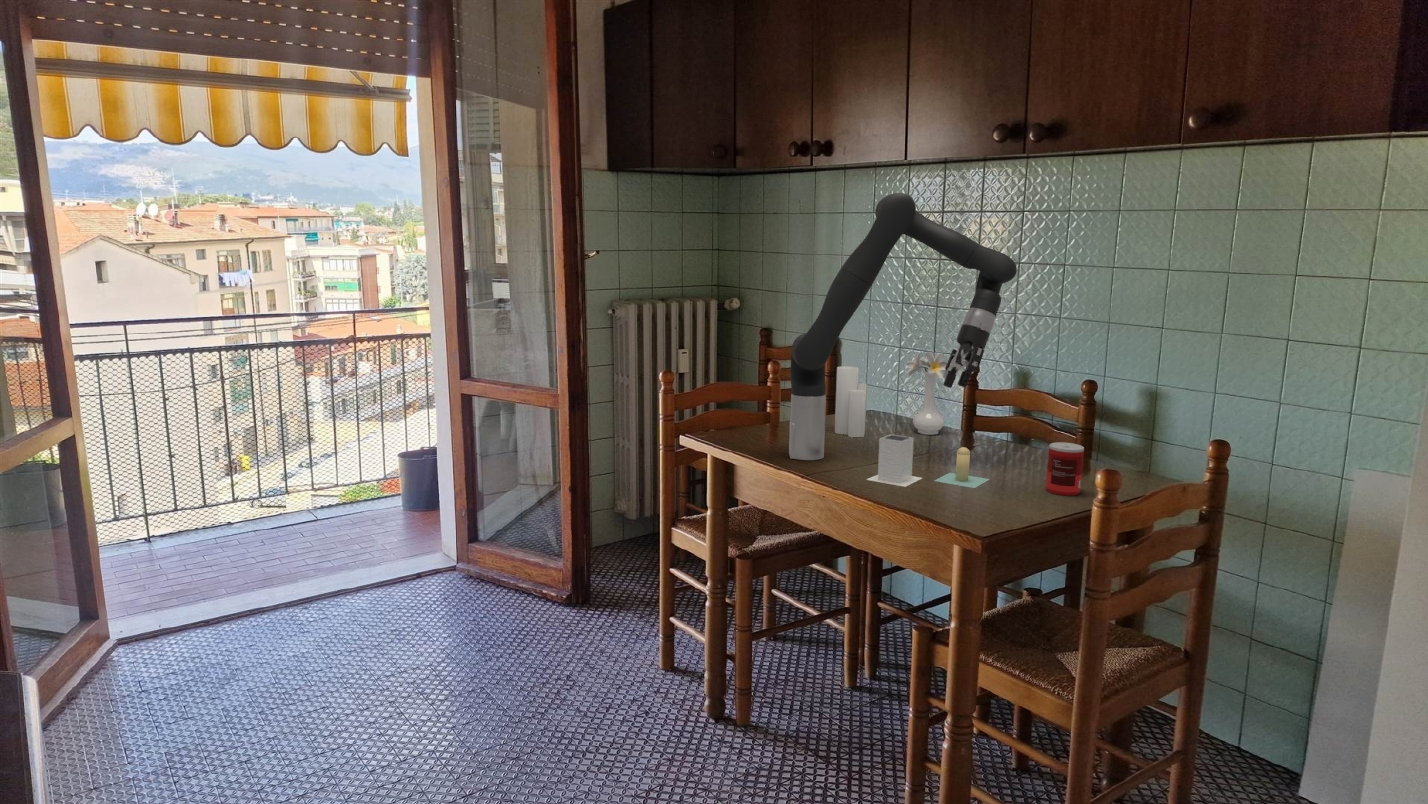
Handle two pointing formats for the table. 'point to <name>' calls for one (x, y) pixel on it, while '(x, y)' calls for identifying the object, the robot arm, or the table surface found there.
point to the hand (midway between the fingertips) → (954, 386)
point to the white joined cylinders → (850, 403)
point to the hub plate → (967, 484)
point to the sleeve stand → (904, 484)
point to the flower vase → (928, 392)
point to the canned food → (1064, 468)
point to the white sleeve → (895, 458)
